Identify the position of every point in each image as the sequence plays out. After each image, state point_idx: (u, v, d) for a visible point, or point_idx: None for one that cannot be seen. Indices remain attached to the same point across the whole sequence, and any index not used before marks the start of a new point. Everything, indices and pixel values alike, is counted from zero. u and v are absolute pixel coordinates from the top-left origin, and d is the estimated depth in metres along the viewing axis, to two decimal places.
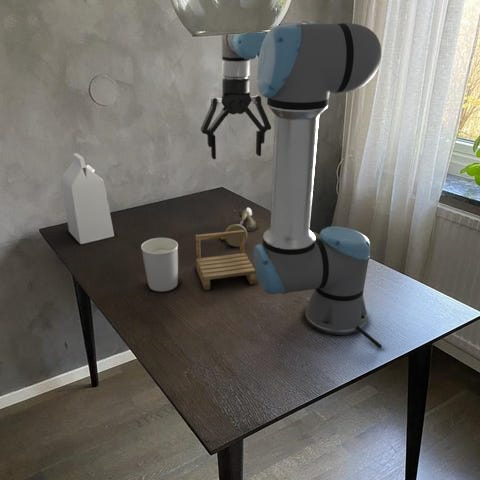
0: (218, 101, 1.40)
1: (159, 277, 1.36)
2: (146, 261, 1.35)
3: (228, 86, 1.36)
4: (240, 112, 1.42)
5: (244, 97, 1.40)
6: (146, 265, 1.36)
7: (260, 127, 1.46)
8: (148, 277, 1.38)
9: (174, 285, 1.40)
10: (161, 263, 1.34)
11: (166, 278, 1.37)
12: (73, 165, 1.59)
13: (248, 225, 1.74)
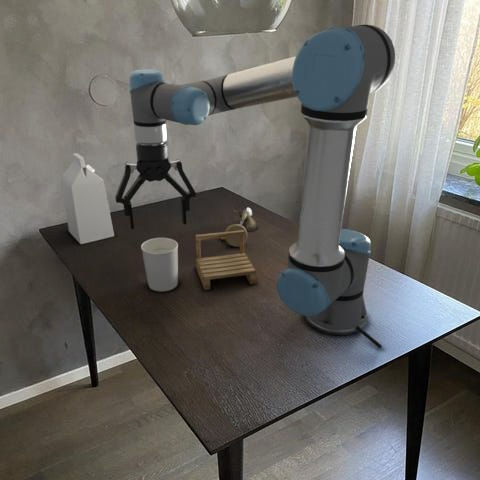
0: (132, 168, 1.23)
1: (159, 277, 1.36)
2: (146, 261, 1.35)
3: (141, 153, 1.20)
4: (159, 179, 1.26)
5: (162, 163, 1.24)
6: (146, 265, 1.36)
7: (183, 194, 1.29)
8: (148, 277, 1.38)
9: (174, 285, 1.40)
10: (161, 263, 1.34)
11: (166, 278, 1.37)
12: (73, 165, 1.59)
13: (248, 225, 1.74)
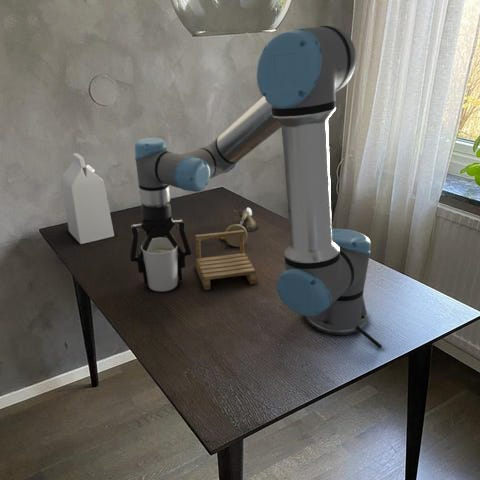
0: (138, 228, 1.32)
1: (159, 277, 1.36)
2: (146, 261, 1.35)
3: (146, 213, 1.28)
4: (162, 235, 1.34)
5: (166, 221, 1.32)
6: (146, 265, 1.36)
7: (179, 253, 1.38)
8: (148, 277, 1.38)
9: (174, 285, 1.40)
10: (161, 263, 1.34)
11: (166, 278, 1.37)
12: (73, 165, 1.59)
13: (248, 225, 1.74)
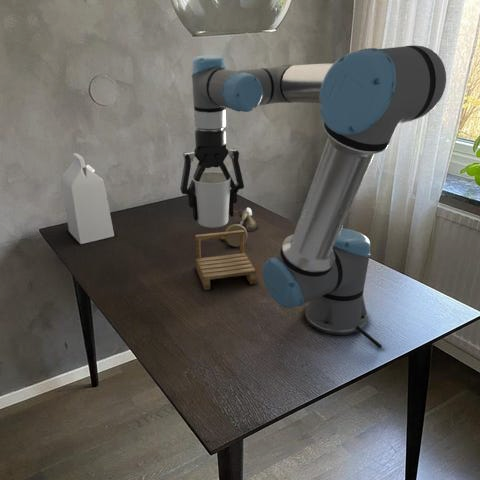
0: (191, 156, 1.24)
1: (211, 210, 1.29)
2: (198, 193, 1.28)
3: (201, 139, 1.21)
4: (216, 165, 1.27)
5: (220, 149, 1.25)
6: (197, 198, 1.29)
7: (232, 186, 1.30)
8: (199, 212, 1.31)
9: (225, 221, 1.33)
10: (214, 195, 1.27)
11: (218, 212, 1.30)
12: (73, 165, 1.59)
13: (248, 225, 1.74)
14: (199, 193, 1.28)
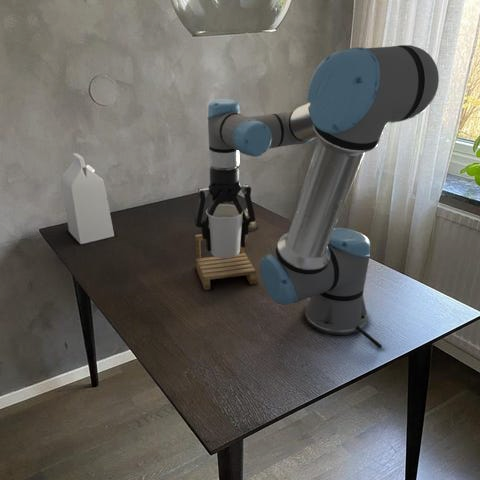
0: (205, 192, 1.30)
1: (224, 243, 1.35)
2: (211, 226, 1.34)
3: (215, 177, 1.27)
4: (229, 200, 1.33)
5: (233, 186, 1.31)
6: (211, 231, 1.35)
7: (244, 219, 1.36)
8: (212, 243, 1.37)
9: (237, 252, 1.39)
10: (227, 228, 1.33)
11: (231, 244, 1.36)
12: (73, 165, 1.59)
13: None
14: (212, 226, 1.34)
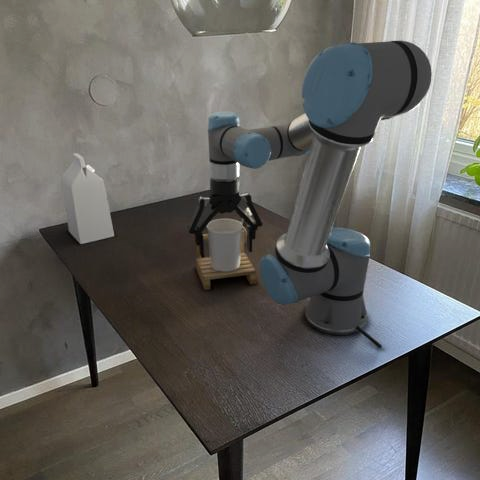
0: (206, 201, 1.32)
1: (224, 257, 1.38)
2: (212, 241, 1.36)
3: (216, 188, 1.28)
4: (229, 211, 1.34)
5: (233, 196, 1.32)
6: (211, 245, 1.37)
7: (251, 224, 1.38)
8: (212, 257, 1.39)
9: (237, 265, 1.41)
10: (227, 243, 1.35)
11: (231, 258, 1.38)
12: (73, 165, 1.59)
13: (248, 225, 1.74)
14: (213, 241, 1.36)
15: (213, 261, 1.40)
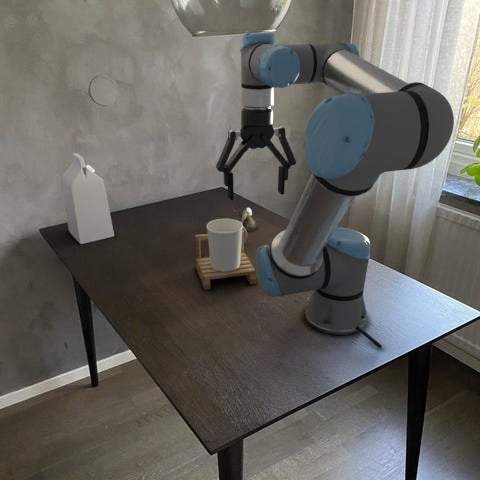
0: (236, 134, 1.20)
1: (224, 257, 1.38)
2: (212, 241, 1.36)
3: (248, 117, 1.17)
4: (261, 146, 1.23)
5: (266, 129, 1.21)
6: (211, 245, 1.37)
7: (284, 162, 1.27)
8: (212, 257, 1.39)
9: (237, 265, 1.41)
10: (227, 243, 1.35)
11: (231, 258, 1.38)
12: (73, 165, 1.59)
13: (248, 225, 1.74)
14: (213, 241, 1.36)
15: (213, 261, 1.40)
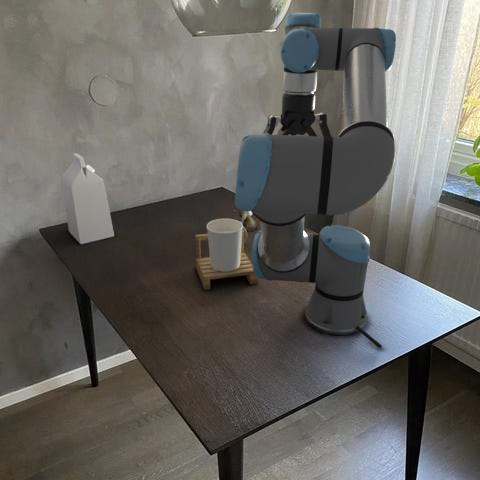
0: (277, 120, 1.17)
1: (224, 257, 1.38)
2: (212, 241, 1.36)
3: (290, 103, 1.14)
4: (302, 133, 1.20)
5: (307, 115, 1.18)
6: (211, 245, 1.37)
7: None
8: (212, 257, 1.39)
9: (237, 265, 1.41)
10: (227, 243, 1.35)
11: (231, 258, 1.38)
12: (73, 165, 1.59)
13: (248, 225, 1.74)
14: (213, 241, 1.36)
15: (213, 261, 1.40)
